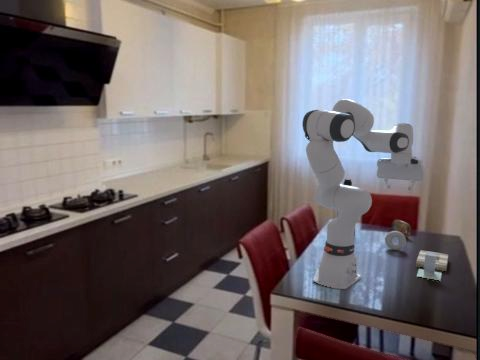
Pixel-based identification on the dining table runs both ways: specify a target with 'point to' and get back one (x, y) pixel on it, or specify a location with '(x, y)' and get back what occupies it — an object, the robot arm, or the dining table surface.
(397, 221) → the tin
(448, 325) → the dining table surface
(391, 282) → the dining table surface
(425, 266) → the aluminium block
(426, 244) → the dining table surface
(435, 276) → the green pad
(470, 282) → the dining table surface
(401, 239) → the donut
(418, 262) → the frame
